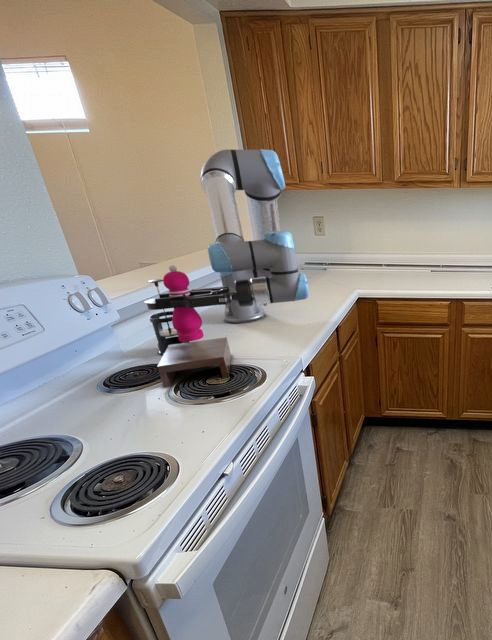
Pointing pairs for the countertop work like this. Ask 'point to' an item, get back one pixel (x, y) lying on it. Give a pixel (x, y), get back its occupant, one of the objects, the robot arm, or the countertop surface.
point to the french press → (157, 325)
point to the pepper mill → (183, 317)
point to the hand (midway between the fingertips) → (159, 301)
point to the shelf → (194, 358)
